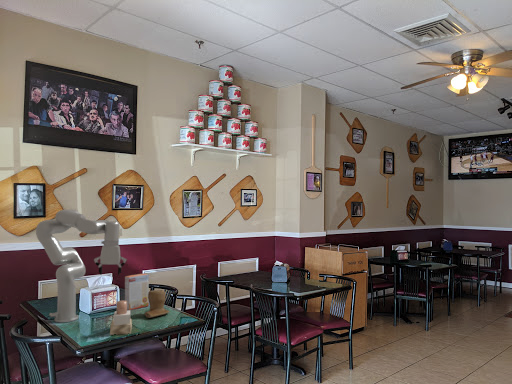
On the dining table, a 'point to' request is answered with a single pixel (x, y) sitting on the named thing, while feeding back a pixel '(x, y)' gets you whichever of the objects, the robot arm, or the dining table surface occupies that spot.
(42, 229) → the robot arm
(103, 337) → the dining table surface
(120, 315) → the whitewashed block
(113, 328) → the maple base block
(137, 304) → the cracker box
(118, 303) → the terracotta cylinder
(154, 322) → the dining table surface
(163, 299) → the tan piece
